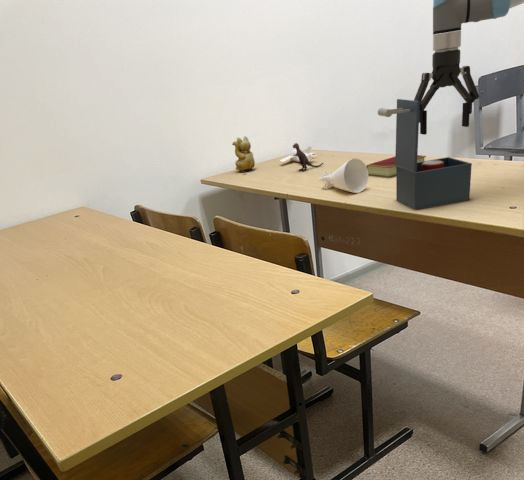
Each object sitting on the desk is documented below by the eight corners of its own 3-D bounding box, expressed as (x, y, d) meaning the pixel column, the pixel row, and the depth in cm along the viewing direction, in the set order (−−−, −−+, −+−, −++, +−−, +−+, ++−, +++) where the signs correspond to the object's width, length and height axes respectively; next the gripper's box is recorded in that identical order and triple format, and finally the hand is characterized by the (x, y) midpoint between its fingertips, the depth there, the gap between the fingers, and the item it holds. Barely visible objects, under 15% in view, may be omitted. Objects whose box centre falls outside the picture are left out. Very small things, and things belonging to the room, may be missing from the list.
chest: (447, 191, 173) (448, 156, 168) (469, 200, 161) (471, 163, 156) (396, 200, 171) (396, 165, 166) (414, 209, 159) (415, 173, 154)
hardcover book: (366, 175, 209) (365, 164, 207) (401, 164, 219) (402, 153, 217) (389, 177, 200) (389, 166, 198) (425, 166, 210) (425, 155, 208)
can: (445, 198, 163) (447, 162, 158) (425, 201, 163) (426, 165, 158) (437, 194, 169) (438, 159, 163) (417, 197, 168) (418, 162, 163)
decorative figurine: (247, 168, 254) (243, 134, 247) (260, 168, 249) (256, 134, 242) (233, 172, 248) (228, 138, 241) (246, 173, 243) (241, 138, 236)
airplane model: (307, 156, 262) (305, 140, 258) (330, 159, 246) (329, 142, 243) (272, 164, 254) (270, 148, 250) (294, 168, 239) (293, 151, 235)
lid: (399, 98, 157) (372, 102, 156) (419, 101, 145) (391, 104, 144) (397, 164, 166) (372, 167, 165) (416, 171, 154) (389, 175, 153)
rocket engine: (317, 160, 196) (350, 151, 181) (339, 175, 203) (372, 168, 188) (307, 188, 196) (339, 182, 181) (329, 203, 202) (362, 198, 187)
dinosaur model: (291, 143, 226) (319, 139, 232) (291, 171, 232) (319, 166, 238) (296, 144, 223) (325, 140, 229) (296, 173, 229) (324, 168, 235)
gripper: (479, 44, 154) (475, 122, 165) (399, 57, 152) (400, 136, 162) (494, 42, 148) (489, 124, 158) (410, 56, 145) (411, 138, 155)
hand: (444, 130), depth 160 cm, fingers open, 13 cm apart
